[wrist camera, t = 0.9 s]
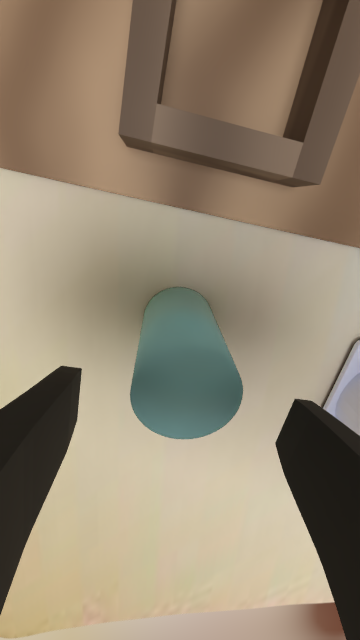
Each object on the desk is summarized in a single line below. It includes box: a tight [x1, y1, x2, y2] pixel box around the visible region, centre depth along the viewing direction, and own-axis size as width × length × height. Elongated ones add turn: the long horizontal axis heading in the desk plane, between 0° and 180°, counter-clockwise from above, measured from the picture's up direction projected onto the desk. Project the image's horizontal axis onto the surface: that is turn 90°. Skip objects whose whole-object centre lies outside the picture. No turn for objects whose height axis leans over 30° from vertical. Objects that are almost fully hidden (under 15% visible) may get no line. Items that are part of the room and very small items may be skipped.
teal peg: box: [130, 287, 243, 439], centre depth 13 cm, size 4×4×7 cm
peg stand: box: [0, 0, 360, 248], centre depth 11 cm, size 20×12×3 cm, turn 78°
